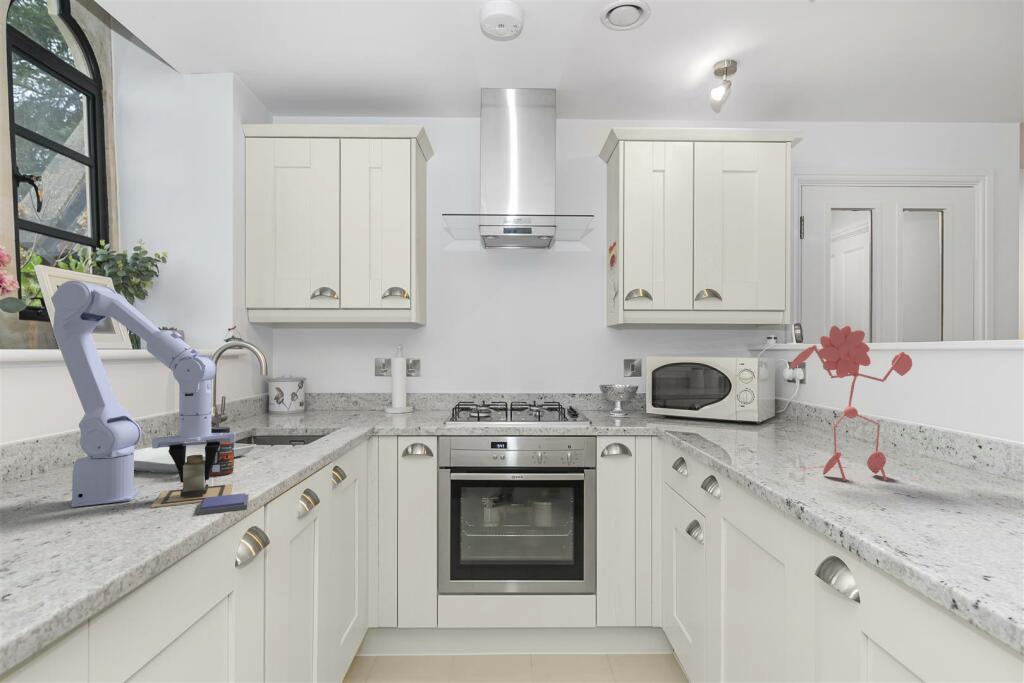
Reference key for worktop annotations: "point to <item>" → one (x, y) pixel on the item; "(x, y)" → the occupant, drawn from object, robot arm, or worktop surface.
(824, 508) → the worktop surface
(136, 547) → the worktop surface
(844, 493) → the worktop surface
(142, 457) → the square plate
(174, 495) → the sheet
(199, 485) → the stamp
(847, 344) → the figurine
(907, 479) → the worktop surface
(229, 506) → the ink pad
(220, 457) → the supplement bottle
